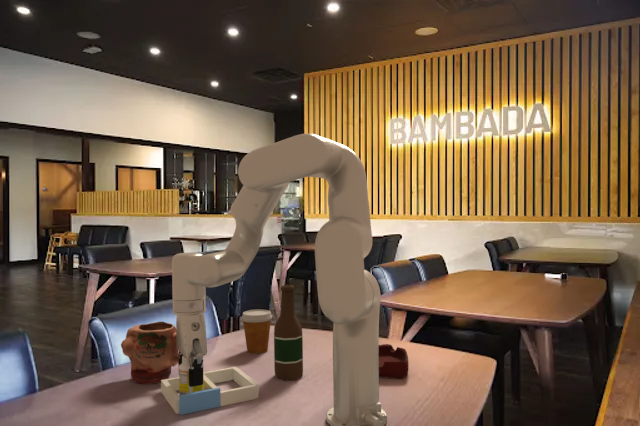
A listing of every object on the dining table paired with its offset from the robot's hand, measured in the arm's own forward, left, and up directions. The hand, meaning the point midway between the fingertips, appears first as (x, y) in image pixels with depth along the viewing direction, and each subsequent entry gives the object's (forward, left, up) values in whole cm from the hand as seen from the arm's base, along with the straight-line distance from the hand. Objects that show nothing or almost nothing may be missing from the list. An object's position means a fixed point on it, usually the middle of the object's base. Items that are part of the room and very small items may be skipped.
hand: (190, 379), depth 118 cm
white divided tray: (0, -4, -5) cm, 6 cm away
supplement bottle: (0, 0, -5) cm, 5 cm away
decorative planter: (+19, +4, -5) cm, 20 cm away
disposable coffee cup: (+28, -28, -5) cm, 40 cm away
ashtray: (-8, -50, -5) cm, 51 cm away
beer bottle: (+2, -26, -5) cm, 27 cm away
